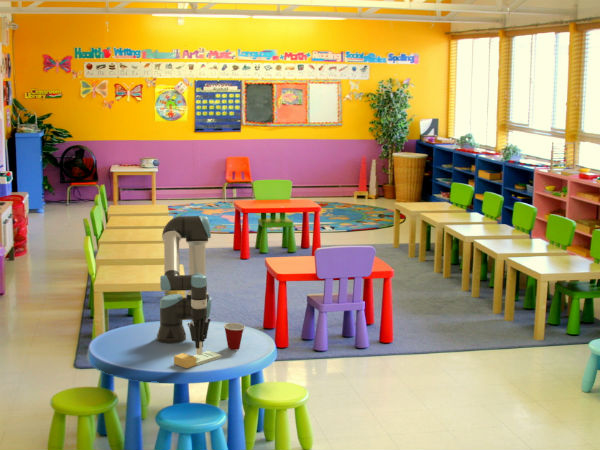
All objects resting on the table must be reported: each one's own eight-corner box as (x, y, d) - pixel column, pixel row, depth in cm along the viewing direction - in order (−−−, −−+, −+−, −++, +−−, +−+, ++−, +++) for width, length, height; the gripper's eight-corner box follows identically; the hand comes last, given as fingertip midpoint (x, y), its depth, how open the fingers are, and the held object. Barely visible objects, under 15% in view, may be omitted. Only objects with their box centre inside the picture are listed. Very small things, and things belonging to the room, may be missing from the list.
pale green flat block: (184, 361, 392) (184, 358, 392) (208, 353, 404) (208, 350, 404) (196, 365, 387) (196, 362, 386) (221, 357, 398) (221, 354, 398)
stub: (174, 363, 388) (173, 355, 387) (183, 360, 392) (183, 352, 392) (186, 368, 382) (186, 359, 381) (196, 365, 386) (196, 356, 386)
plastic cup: (241, 352, 407) (241, 329, 405) (221, 350, 409) (221, 327, 407) (247, 345, 417) (247, 323, 415) (227, 344, 420) (227, 321, 417)
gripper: (193, 311, 382) (194, 359, 386) (214, 306, 392) (214, 352, 396) (183, 308, 387) (183, 355, 391) (204, 303, 396) (204, 349, 400)
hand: (199, 354), depth 393 cm, fingers closed
